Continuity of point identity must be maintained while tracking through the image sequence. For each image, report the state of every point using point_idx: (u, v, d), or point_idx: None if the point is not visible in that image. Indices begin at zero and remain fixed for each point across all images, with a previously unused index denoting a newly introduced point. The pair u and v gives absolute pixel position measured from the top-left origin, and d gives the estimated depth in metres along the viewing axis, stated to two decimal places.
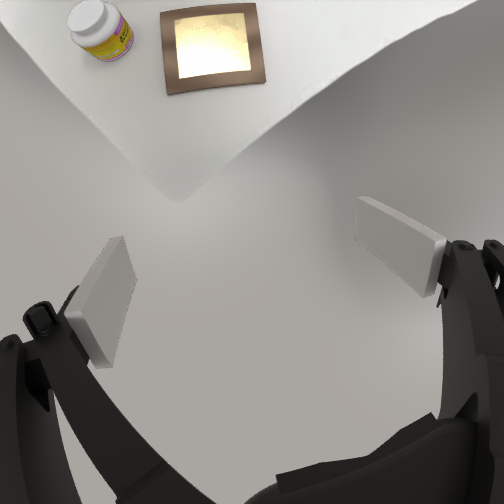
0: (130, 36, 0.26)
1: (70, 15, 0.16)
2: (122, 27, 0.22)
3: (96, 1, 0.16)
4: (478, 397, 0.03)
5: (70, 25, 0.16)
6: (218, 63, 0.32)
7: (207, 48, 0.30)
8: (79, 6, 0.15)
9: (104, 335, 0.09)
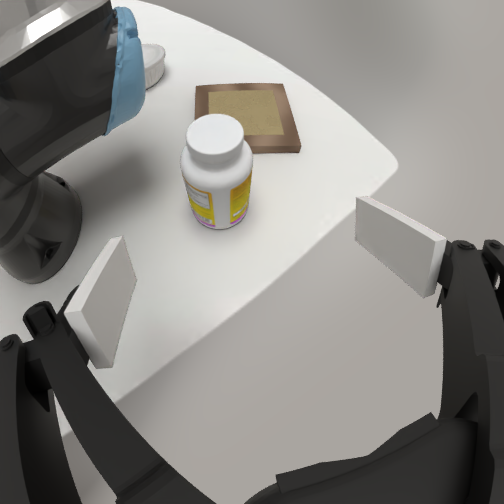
0: None
1: (205, 150, 0.20)
2: None
3: (197, 121, 0.21)
4: (478, 397, 0.03)
5: (226, 148, 0.20)
6: (267, 108, 0.36)
7: (250, 113, 0.36)
8: (194, 140, 0.20)
9: (104, 335, 0.09)
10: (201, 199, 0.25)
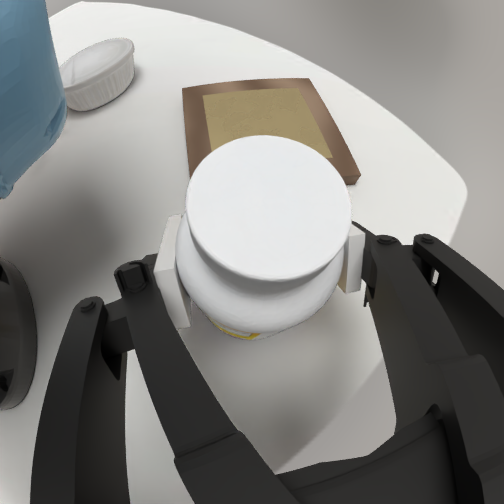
0: None
1: (257, 265, 0.07)
2: None
3: (213, 162, 0.08)
4: (440, 409, 0.04)
5: (321, 254, 0.07)
6: (297, 114, 0.24)
7: (274, 125, 0.23)
8: (215, 230, 0.07)
9: (184, 296, 0.11)
10: (234, 331, 0.12)
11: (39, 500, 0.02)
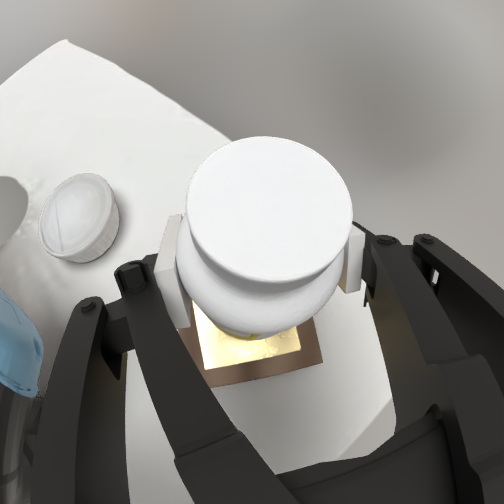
0: None
1: (258, 267, 0.07)
2: None
3: (214, 163, 0.08)
4: (440, 409, 0.04)
5: (321, 255, 0.07)
6: None
7: None
8: (215, 231, 0.07)
9: (184, 296, 0.11)
10: (234, 332, 0.12)
11: (39, 499, 0.02)
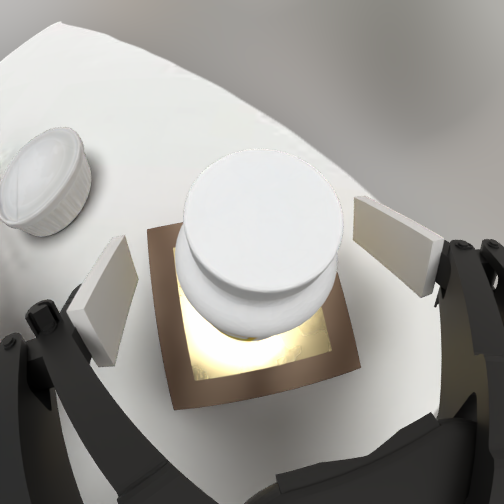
0: None
1: (251, 277, 0.07)
2: None
3: (210, 176, 0.08)
4: (477, 397, 0.03)
5: (312, 266, 0.07)
6: None
7: None
8: (211, 244, 0.07)
9: (106, 334, 0.09)
10: (232, 335, 0.12)
11: None
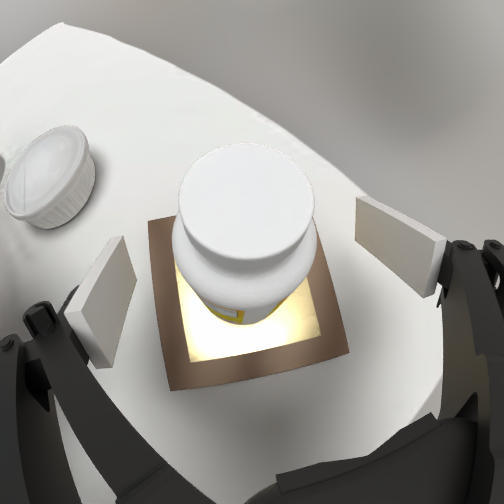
0: None
1: (233, 247, 0.08)
2: None
3: (201, 166, 0.09)
4: (478, 397, 0.03)
5: (284, 239, 0.09)
6: None
7: None
8: (200, 220, 0.09)
9: (104, 335, 0.09)
10: (223, 311, 0.13)
11: None
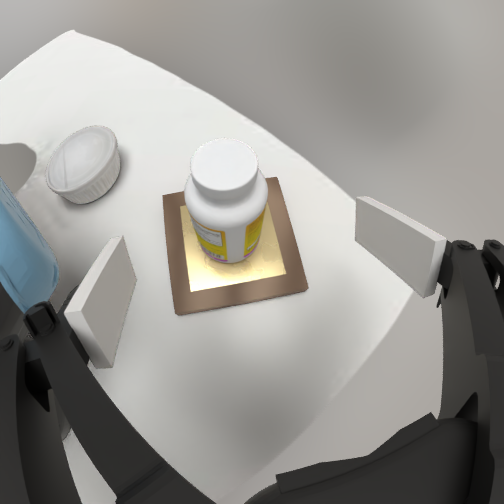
0: None
1: (216, 185, 0.17)
2: None
3: (201, 149, 0.18)
4: (478, 397, 0.03)
5: (241, 181, 0.17)
6: None
7: None
8: (201, 174, 0.18)
9: (104, 335, 0.09)
10: (213, 237, 0.22)
11: None
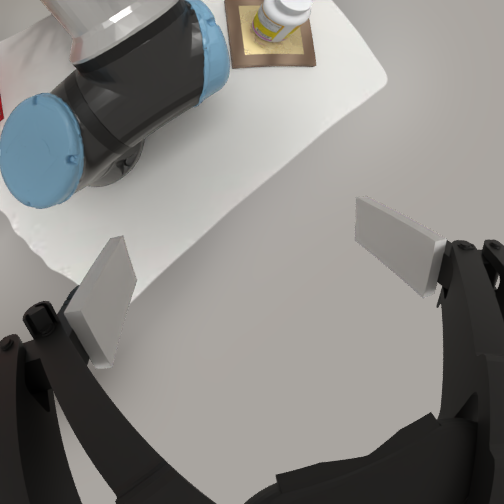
0: None
1: (292, 7, 0.23)
2: None
3: None
4: (478, 397, 0.03)
5: (304, 8, 0.23)
6: None
7: None
8: (284, 0, 0.22)
9: (104, 335, 0.09)
10: (274, 27, 0.28)
11: None
